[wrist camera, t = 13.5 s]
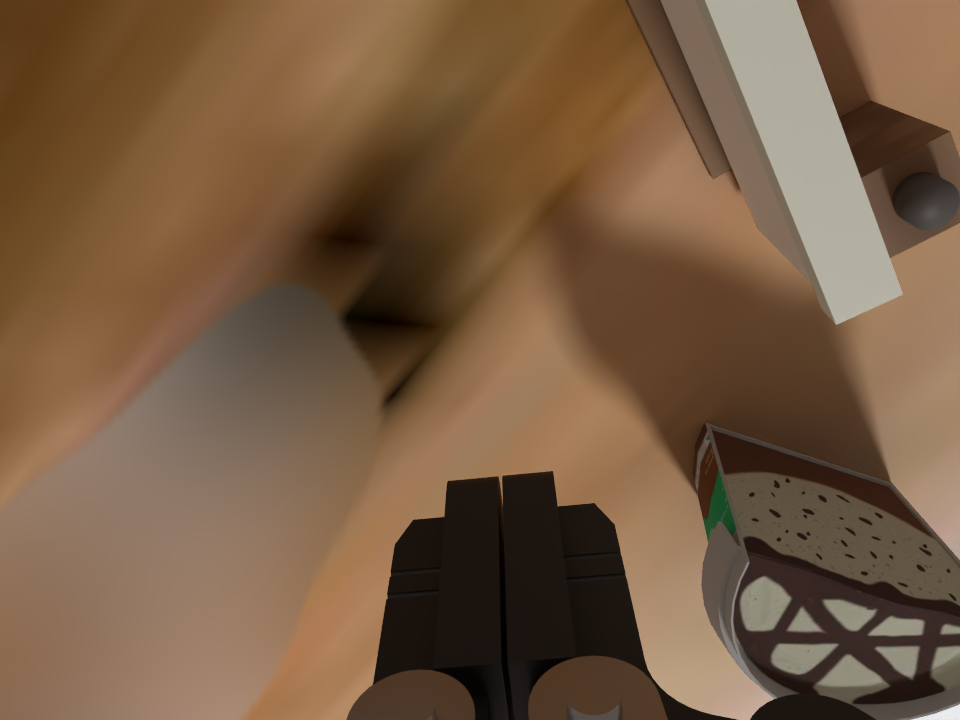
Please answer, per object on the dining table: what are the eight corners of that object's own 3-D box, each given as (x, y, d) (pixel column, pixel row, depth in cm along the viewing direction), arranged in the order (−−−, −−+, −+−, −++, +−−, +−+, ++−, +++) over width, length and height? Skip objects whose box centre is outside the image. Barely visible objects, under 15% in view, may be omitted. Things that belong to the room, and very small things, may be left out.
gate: (541, -259, 26) (563, -349, 19) (599, -298, 26) (648, -407, 18) (753, 236, 33) (836, 324, 25) (803, 212, 33) (903, 294, 25)
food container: (618, 521, 40) (656, 686, 31) (674, 412, 38) (733, 557, 29) (851, 591, 42) (952, 767, 33) (920, 491, 39) (1048, 653, 30)
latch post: (871, 101, 32) (966, 137, 26) (898, 170, 33) (995, 222, 27) (787, 146, 33) (860, 193, 26) (816, 212, 34) (892, 273, 27)
